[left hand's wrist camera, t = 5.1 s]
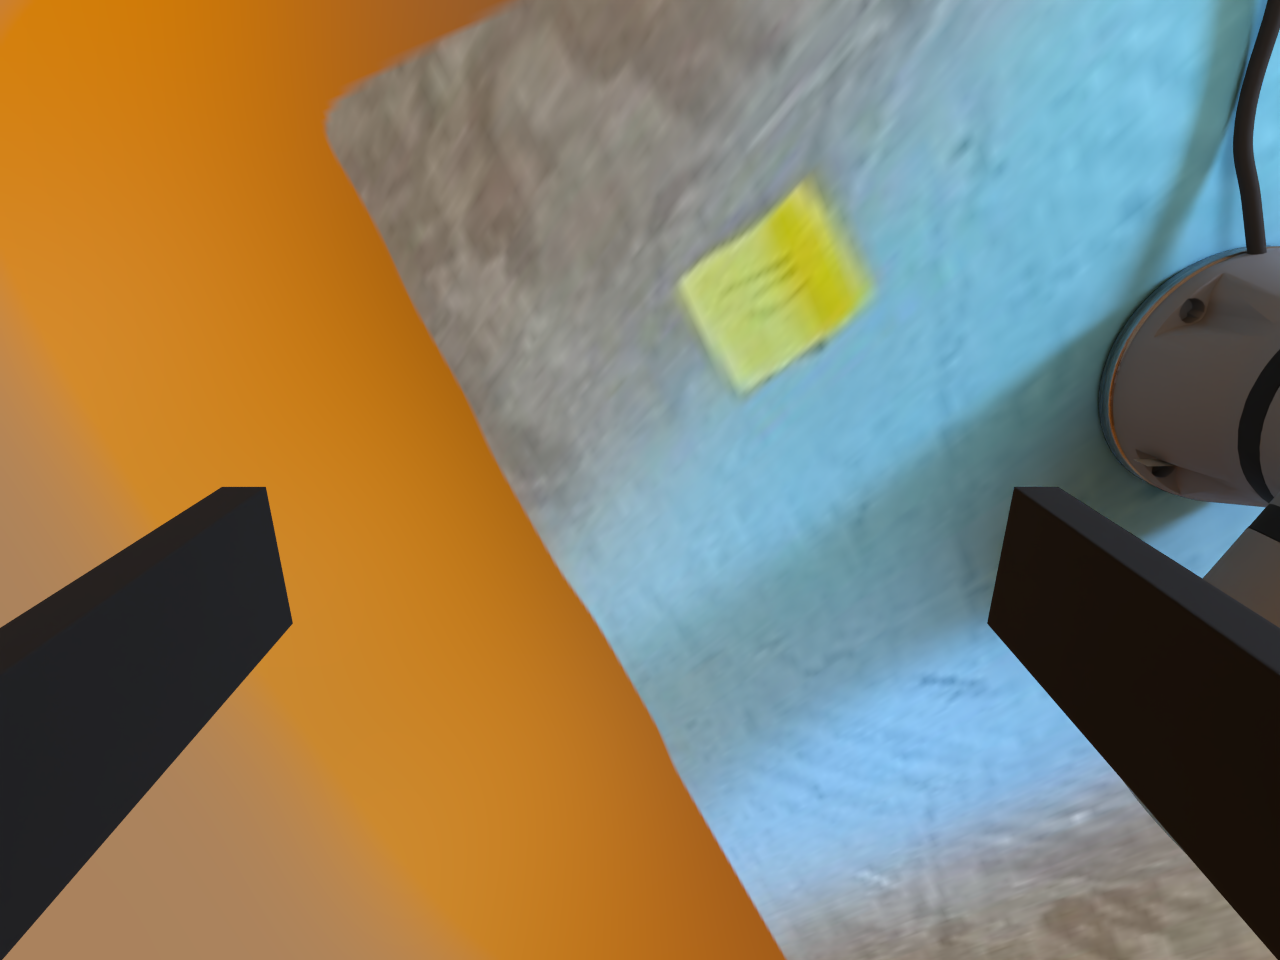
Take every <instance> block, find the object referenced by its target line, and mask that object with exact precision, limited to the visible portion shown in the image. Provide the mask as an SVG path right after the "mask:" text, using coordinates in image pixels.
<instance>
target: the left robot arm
mask: <svg viewBox="0 0 1280 960" xmlns="http://www.w3.org/2000/svg"><path fill="white" fill-rule="evenodd" d="M1279 29H1280V0H1268V2H1267V5H1266V9H1265V13H1264V16H1263V20H1262V23H1261V26H1260V30H1259V33H1258V36H1257V39H1256V42H1255V45H1254V49H1253V52H1252V55H1251V58H1250V61H1249V64H1248V67H1247V71H1246V74H1245V78H1244V81H1243V85H1242V89H1241V93H1240V97H1239V102H1238V106H1237V112H1236V119H1235V127H1234V137H1233V154H1234V163H1235V169H1236V174H1237V179H1238V184H1239V189H1240V195H1241V202H1242V211H1243V220H1244V229H1245V238H1246V247H1242V248H1237V249H1232V250H1228V251H1224V252H1221V253H1218V254H1215V255H1212V256H1210V257H1208V258H1205V259H1203V260H1201V261H1198V262H1196V263H1195V264H1193V265H1191V266H1189V267H1187V268H1185V269H1184V270H1182V271H1180V272H1179V273H1177V274H1176V275H1174V276H1173V277H1171V278H1170V279H1169V280H1167V281H1166V282H1165V283H1163V284H1162V285H1161V286H1160V287H1159V288H1157V289H1156V290H1155V291H1154V292H1153V293H1152V294H1151V295H1150V296H1149V297H1148V298H1147V299H1146V300H1145V301H1144V302H1143V303H1142V304H1141V305H1140V306H1139V307H1138V308H1137V310H1136V311H1135V312H1134V313H1133V314H1132V316H1131V317H1130V318H1129V320H1128V321H1127V323H1126V324H1125V325H1124V327H1123V328H1122V330H1121V332H1120V333H1119V335H1118V337H1117V338H1116V340H1115V342H1114V344H1113V347H1112V349H1111V351H1110V353H1109V356H1108V358H1107V361H1106V364H1105V367H1104V370H1103V374H1102V379H1101V384H1100V391H1099V414H1100V422H1101V426H1102V430H1103V433H1104V436H1105V438H1106V441H1107V443H1108V445H1109V447H1110V449H1111V451H1112V452H1113V454H1114V455H1115V456H1116V458H1117V459H1118V460H1119V461H1120V463H1121V464H1122V465H1123V466H1124V467H1125V468H1126V469H1128V470H1129V471H1130V472H1131V473H1133V474H1134V475H1135V476H1137V477H1138V478H1140V479H1142V480H1144V481H1146V482H1148V483H1150V484H1152V485H1154V486H1156V487H1157V488H1159V489H1161V490H1164V491H1166V492H1169V493H1172V494H1175V495H1179V496H1182V497H1185V498H1189V499H1193V500H1199V501H1207V502H1217V503H1228V504H1238V505H1249V506H1259V507H1266V508H1265V509H1264V510H1263V511H1262V513H1261V514H1260V515H1259V516H1258V517H1257V518H1256V519H1255V520H1254V522H1253V523H1252V524H1251V525H1250V526H1249V527H1248V528H1247V529H1246V530H1245V531H1244V532H1243V533H1242V534H1241V536H1240V537H1239V538H1238V539H1237V540H1236V541H1235V542H1234V544H1233V545H1232V546H1231V547H1230V548H1229V549H1228V550H1227V552H1226V553H1225V554H1224V555H1223V556H1222V557H1221V558H1220V560H1219V561H1218V562H1217V563H1216V564H1215V565H1214V566H1213V568H1212V569H1211V570H1210V571H1209V572H1208V573H1207V574H1206V575H1205V576H1204V577H1203V579H1202V578H1200V577H1199V576H1197V575H1196V574H1194V573H1192V572H1191V571H1189V570H1188V569H1186V568H1185V567H1183V566H1181V565H1180V564H1178V563H1177V562H1175V561H1174V560H1172V559H1170V558H1169V557H1167V556H1166V555H1164V554H1163V553H1161V552H1159V551H1158V550H1156V549H1155V548H1153V547H1152V546H1150V545H1148V544H1147V543H1145V542H1144V541H1142V540H1141V539H1139V538H1137V537H1136V536H1134V535H1133V534H1131V533H1130V532H1128V531H1126V530H1125V529H1123V528H1122V527H1120V526H1119V525H1117V524H1115V523H1114V522H1112V521H1111V520H1109V519H1108V518H1106V517H1104V516H1103V515H1101V514H1100V513H1098V512H1097V511H1095V510H1093V509H1092V508H1090V507H1089V506H1087V505H1085V504H1084V503H1082V502H1081V501H1079V500H1078V499H1076V498H1074V497H1073V496H1071V495H1070V494H1068V493H1067V492H1065V491H1063V490H1062V489H1060V488H1059V487H1014V491H1013V496H1012V501H1011V506H1010V511H1009V516H1008V521H1007V526H1006V531H1005V536H1004V541H1003V547H1002V552H1001V557H1000V562H999V567H998V572H997V577H996V582H995V587H994V592H993V597H992V602H991V607H990V612H989V617H988V622H987V624H988V625H989V626H990V627H991V628H992V629H993V631H994V632H995V633H996V634H997V635H998V636H999V637H1000V639H1001V640H1002V641H1003V642H1004V643H1005V644H1006V646H1007V647H1008V648H1009V649H1010V650H1011V651H1012V653H1013V654H1014V655H1015V656H1016V657H1017V658H1018V659H1019V661H1020V662H1021V663H1022V664H1023V665H1024V666H1025V668H1026V669H1027V670H1028V671H1029V672H1030V673H1031V675H1032V676H1033V677H1034V678H1035V679H1036V680H1037V681H1038V683H1039V684H1040V685H1041V686H1042V687H1043V688H1044V690H1045V691H1046V692H1047V693H1048V694H1049V695H1050V697H1051V698H1052V699H1053V700H1054V701H1055V702H1056V703H1057V705H1058V706H1059V707H1060V708H1061V709H1062V710H1063V712H1064V713H1065V714H1066V715H1067V716H1068V717H1069V719H1070V720H1071V721H1072V722H1073V723H1074V724H1075V725H1076V727H1077V728H1078V729H1079V730H1080V731H1081V732H1082V734H1083V735H1084V736H1085V737H1086V738H1087V739H1088V741H1089V742H1090V743H1091V744H1092V745H1093V746H1094V747H1095V749H1096V750H1097V751H1098V752H1099V753H1100V754H1101V756H1102V757H1103V758H1104V759H1105V760H1106V761H1107V763H1108V764H1109V765H1110V766H1111V767H1112V768H1113V769H1114V771H1115V772H1116V773H1117V774H1118V775H1119V776H1120V778H1121V779H1122V780H1123V781H1124V783H1125V784H1126V785H1127V787H1128V788H1129V790H1130V791H1131V792H1132V794H1133V795H1134V796H1135V798H1136V799H1137V800H1138V801H1139V803H1140V804H1141V805H1142V806H1143V807H1144V809H1145V810H1146V811H1147V812H1148V813H1149V815H1150V816H1151V817H1152V818H1153V819H1154V820H1155V821H1156V823H1157V824H1158V825H1159V826H1160V827H1161V828H1162V829H1163V830H1164V831H1165V833H1166V834H1167V835H1168V836H1169V837H1170V838H1171V839H1172V840H1173V841H1174V842H1175V843H1176V844H1177V845H1178V846H1179V847H1180V848H1181V849H1182V850H1183V851H1184V852H1185V853H1186V854H1187V855H1188V856H1189V857H1190V859H1191V860H1192V861H1193V862H1194V863H1195V864H1196V866H1197V867H1198V868H1199V869H1200V870H1201V871H1202V873H1203V874H1204V875H1205V876H1206V877H1207V878H1208V879H1209V881H1210V882H1211V883H1212V884H1213V885H1214V886H1215V888H1216V889H1217V890H1218V891H1219V892H1220V893H1221V895H1222V896H1223V897H1224V898H1225V899H1226V900H1227V901H1228V903H1229V904H1230V905H1231V906H1232V907H1233V908H1234V910H1235V911H1236V912H1237V913H1238V914H1239V915H1240V917H1241V918H1242V919H1243V920H1244V921H1245V922H1246V923H1247V925H1248V926H1249V927H1250V928H1251V929H1252V930H1253V932H1254V933H1255V934H1256V935H1257V936H1258V937H1259V939H1260V940H1261V941H1262V942H1263V943H1264V944H1265V945H1266V947H1267V948H1268V949H1269V950H1270V951H1271V952H1272V954H1273V955H1274V956H1275V957H1276V958H1277V959H1278V960H1280V246H1266V240H1265V230H1264V221H1263V211H1262V202H1261V194H1260V187H1259V181H1258V176H1257V171H1256V166H1255V161H1254V154H1253V130H1254V120H1255V114H1256V108H1257V103H1258V98H1259V93H1260V90H1261V86H1262V82H1263V79H1264V75H1265V72H1266V69H1267V66H1268V62H1269V59H1270V56H1271V53H1272V50H1273V47H1274V44H1275V41H1276V38H1277V35H1278V32H1279ZM291 625H292V617H291V612H290V607H289V602H288V597H287V592H286V587H285V582H284V577H283V572H282V567H281V562H280V557H279V552H278V547H277V542H276V536H275V531H274V526H273V521H272V516H271V512H270V506H269V501H268V496H267V491H266V487H221V488H220V489H218V490H217V491H215V492H213V493H212V494H210V495H209V496H207V497H206V498H204V499H202V500H201V501H199V502H198V503H196V504H195V505H193V506H191V507H190V508H188V509H187V510H185V511H183V512H182V513H180V514H179V515H177V516H176V517H174V518H173V519H171V520H169V521H168V522H166V523H165V524H163V525H161V526H160V527H158V528H157V529H155V530H154V531H152V532H151V533H149V534H147V535H146V536H144V537H143V538H141V539H139V540H138V541H136V542H135V543H133V544H132V545H130V546H128V547H127V548H125V549H124V550H122V551H121V552H119V553H117V554H116V555H114V556H113V557H111V558H110V559H108V560H106V561H105V562H103V563H102V564H100V565H99V566H97V567H95V568H94V569H92V570H91V571H89V572H88V573H86V574H84V575H83V576H81V577H80V578H78V579H77V580H75V581H73V582H72V583H70V584H69V585H67V586H66V587H64V588H62V589H61V590H59V591H58V592H56V593H55V594H53V595H51V596H50V597H48V598H47V599H45V600H44V601H42V602H40V603H39V604H37V605H36V606H34V607H33V608H31V609H29V610H28V611H26V612H25V613H23V614H21V615H20V616H18V617H17V618H15V619H14V620H12V621H11V622H9V623H7V624H6V625H4V626H3V627H1V628H0V960H2V959H3V958H4V957H5V956H6V955H7V954H8V952H9V951H10V950H11V949H12V948H13V946H14V945H15V944H16V943H17V942H18V941H19V940H20V938H21V937H22V936H23V935H24V934H25V933H26V932H27V930H28V929H29V928H30V927H31V926H32V925H33V923H34V922H35V921H36V920H37V919H38V918H39V917H40V915H41V914H42V913H43V912H44V911H45V910H46V908H47V907H48V906H49V905H50V904H51V903H52V901H53V900H54V899H55V898H56V897H57V896H58V895H59V893H60V892H61V891H62V890H63V889H64V888H65V886H66V885H67V884H68V883H69V882H70V881H71V879H72V878H73V877H74V876H75V875H76V874H77V872H78V871H79V870H80V869H81V868H82V867H83V866H84V864H85V863H86V862H87V861H88V860H89V859H90V857H91V856H92V855H93V854H94V853H95V852H96V850H97V849H98V848H99V847H100V846H101V845H102V843H103V842H104V841H105V840H106V839H107V838H108V837H109V835H110V834H111V833H112V832H113V831H114V830H115V828H116V827H117V826H118V825H119V824H120V823H121V822H122V820H123V819H124V818H125V817H126V816H127V815H128V813H129V812H130V811H131V810H132V809H133V808H134V807H135V805H136V804H137V803H138V802H139V801H140V800H141V798H142V797H143V796H144V795H145V794H146V793H147V791H148V790H149V789H150V788H151V787H152V786H153V785H154V783H155V782H156V781H157V780H158V779H159V778H160V776H161V775H162V774H163V773H164V772H165V771H166V769H167V768H168V767H169V766H170V765H171V764H172V763H173V761H174V760H175V759H176V758H177V757H178V756H179V754H180V753H181V752H182V751H183V750H184V749H185V747H186V746H187V745H188V744H189V743H190V742H191V741H192V739H193V738H194V737H195V736H196V735H197V734H198V732H199V731H200V730H201V729H202V728H203V727H204V725H205V724H206V723H207V722H208V721H209V720H210V719H211V717H212V716H213V715H214V714H215V713H216V712H217V710H218V709H219V708H220V707H221V706H222V705H223V703H224V702H225V701H226V700H227V699H228V698H229V696H230V695H231V694H232V693H233V692H234V691H235V690H236V688H237V687H238V686H239V685H240V684H241V683H242V681H243V680H244V679H245V678H246V677H247V676H248V675H249V673H250V672H251V671H252V670H253V669H254V667H255V666H256V665H257V664H258V663H259V662H260V661H261V659H262V658H263V657H264V656H265V655H266V654H267V653H268V651H269V650H270V649H271V648H272V647H273V646H274V644H275V643H276V642H277V641H278V640H279V639H280V637H281V636H282V635H283V634H284V633H285V632H286V631H287V629H288V628H289V627H290V626H291Z"/></svg>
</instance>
